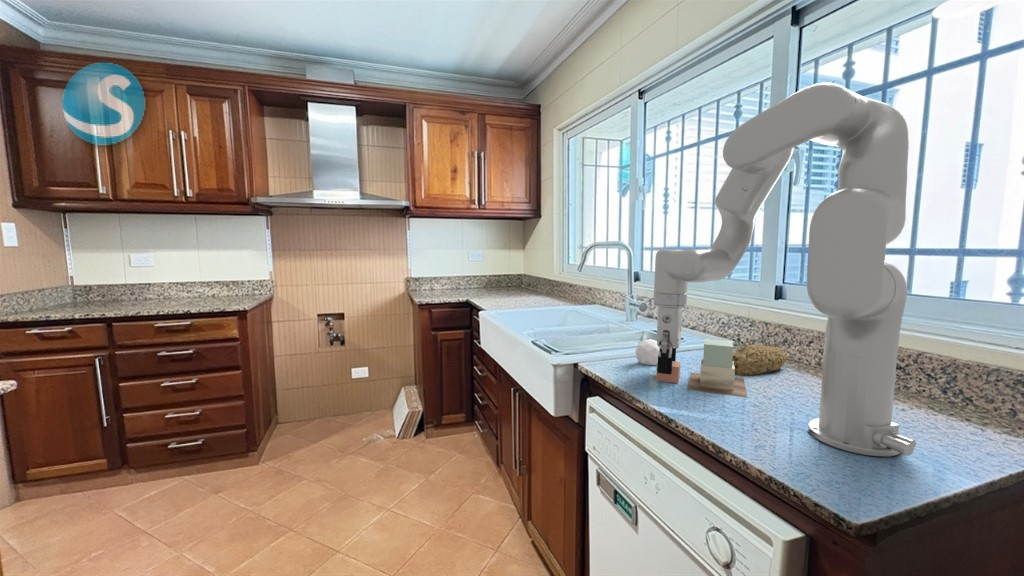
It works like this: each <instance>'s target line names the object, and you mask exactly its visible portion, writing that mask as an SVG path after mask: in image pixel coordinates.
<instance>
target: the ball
mask: <svg viewBox="0 0 1024 576" xmlns="http://www.w3.org/2000/svg"><path fill="white" fill-rule="evenodd" d="M659 348H660V347H659V346H658V345H657V340H654V339H645V340H642V341H640V342H639V343H638V344H637V347H636V349H635V351H634V352H635V357H636V359H637V360H638V362H639V363H640V364H642V365H646V366H657V363H658V356H659Z"/></svg>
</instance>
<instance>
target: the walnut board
mask: <svg viewBox="0 0 1024 576" xmlns="http://www.w3.org/2000/svg"><path fill="white" fill-rule="evenodd" d="M700 374H701V372H692V371H691V372H690V375H689V381H688V385H687V390H688V391H696V392H702V393H703V392H704V393H711V394H718V395H726V396H732V397H733V396H734V397H739V398H740V397H742V398H747V399H748V393H747V389H746V383H745V379H744V378H741V377H734V391H733V390H726V389H718V388H710V387H703V386H700Z"/></svg>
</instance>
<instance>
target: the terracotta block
mask: <svg viewBox="0 0 1024 576" xmlns="http://www.w3.org/2000/svg"><path fill="white" fill-rule="evenodd" d="M657 366H658V363H657V365H656V367H657ZM680 378H681V361H672V373H671V374H663V373H658V372H657V371H656V378H655V379H656V380H655V381H656V382H657V381H658V382H664V383H665V382H666V383H674V384H679V382H680Z"/></svg>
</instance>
